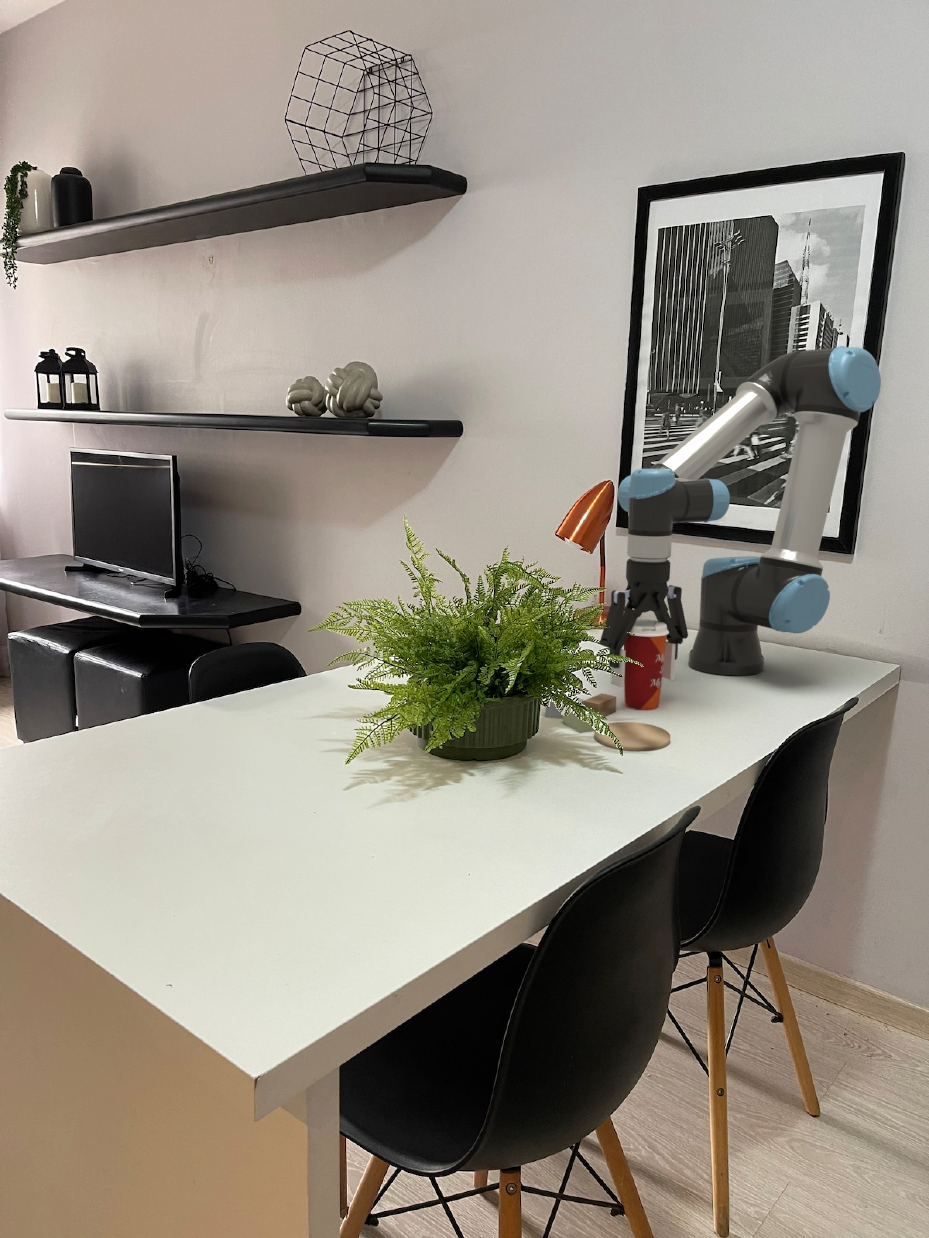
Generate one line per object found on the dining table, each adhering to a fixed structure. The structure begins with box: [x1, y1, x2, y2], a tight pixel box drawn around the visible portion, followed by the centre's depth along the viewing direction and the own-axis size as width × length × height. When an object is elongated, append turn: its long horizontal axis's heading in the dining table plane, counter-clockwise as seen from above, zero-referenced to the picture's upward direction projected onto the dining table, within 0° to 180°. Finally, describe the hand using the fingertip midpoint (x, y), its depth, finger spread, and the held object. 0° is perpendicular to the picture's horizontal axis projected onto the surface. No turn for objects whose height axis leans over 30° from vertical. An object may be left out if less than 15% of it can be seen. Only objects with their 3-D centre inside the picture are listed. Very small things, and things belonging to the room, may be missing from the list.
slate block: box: [545, 698, 584, 719], centre depth 163 cm, size 6×3×3 cm, turn 75°
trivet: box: [593, 721, 671, 752], centre depth 151 cm, size 12×12×1 cm
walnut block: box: [583, 693, 617, 718], centre depth 164 cm, size 6×3×3 cm, turn 141°
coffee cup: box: [623, 619, 669, 711], centre depth 168 cm, size 8×8×15 cm
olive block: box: [562, 712, 595, 734], centre depth 157 cm, size 6×3×3 cm, turn 23°
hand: (642, 681), depth 169 cm, fingers open, 10 cm apart
